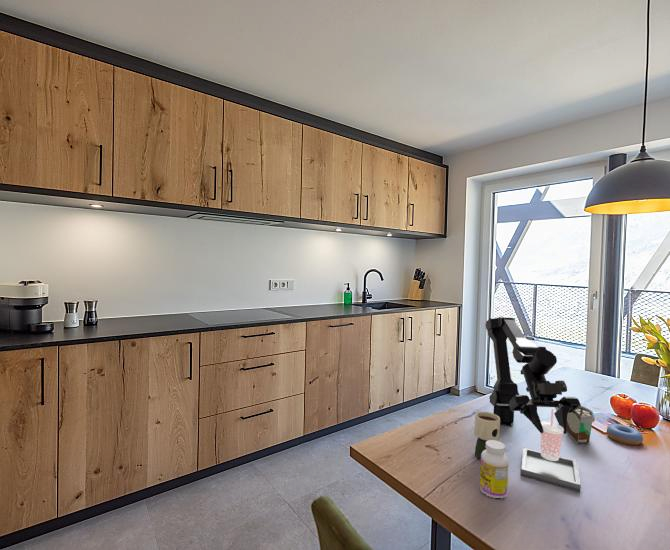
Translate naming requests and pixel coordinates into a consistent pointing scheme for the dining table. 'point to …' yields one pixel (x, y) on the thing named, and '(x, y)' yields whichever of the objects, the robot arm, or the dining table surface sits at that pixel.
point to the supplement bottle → (494, 470)
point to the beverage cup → (551, 440)
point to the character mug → (485, 430)
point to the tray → (551, 470)
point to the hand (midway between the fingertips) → (553, 433)
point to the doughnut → (624, 434)
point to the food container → (580, 424)
